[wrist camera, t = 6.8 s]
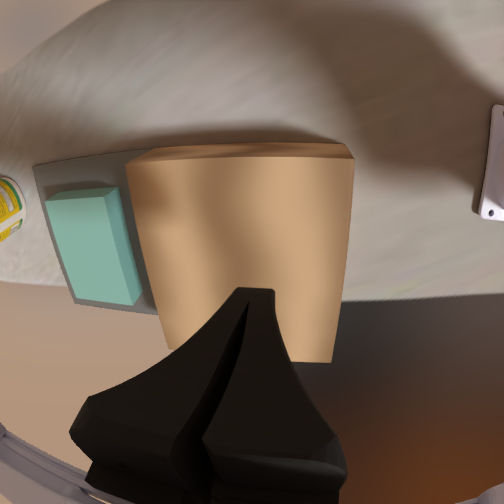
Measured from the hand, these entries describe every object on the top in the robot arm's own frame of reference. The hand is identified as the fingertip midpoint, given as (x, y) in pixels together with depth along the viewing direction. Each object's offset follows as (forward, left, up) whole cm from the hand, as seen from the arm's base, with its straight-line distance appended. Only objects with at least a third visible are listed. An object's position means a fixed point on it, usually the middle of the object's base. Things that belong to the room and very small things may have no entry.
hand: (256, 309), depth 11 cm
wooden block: (+2, +3, -10) cm, 11 cm away
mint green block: (+14, +3, -8) cm, 17 cm away
